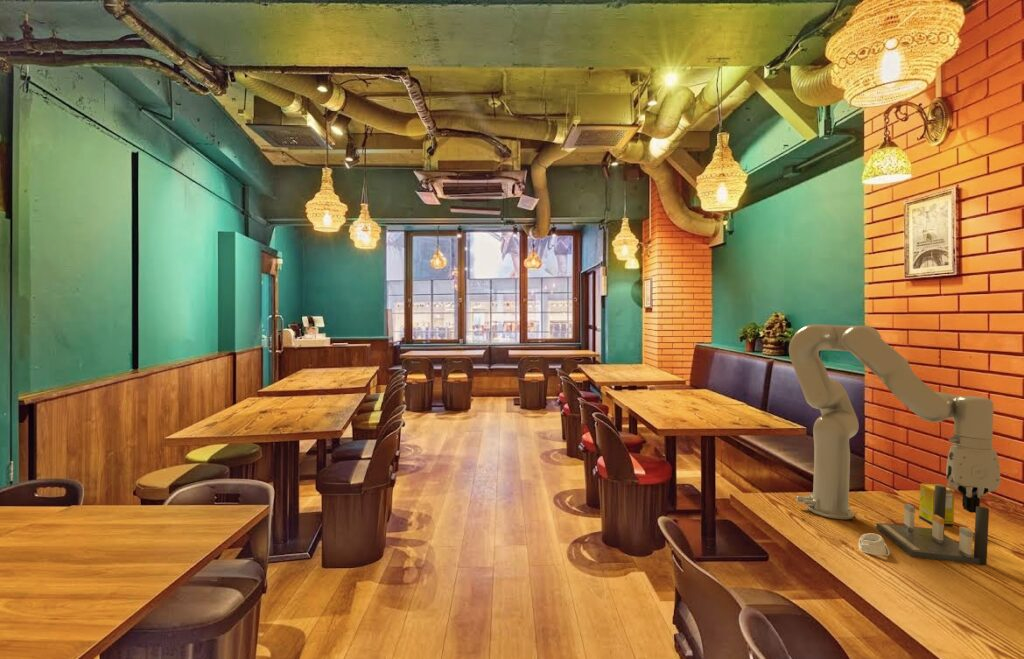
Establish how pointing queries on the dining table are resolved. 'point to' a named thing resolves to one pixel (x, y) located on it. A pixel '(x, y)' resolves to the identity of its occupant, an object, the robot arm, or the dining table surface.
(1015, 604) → the dining table surface
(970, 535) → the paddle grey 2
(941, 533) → the cream block orange end
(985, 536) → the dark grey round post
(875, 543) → the grey hollow teardrop piece
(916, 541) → the panel
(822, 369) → the robot arm
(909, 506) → the beige flat bar
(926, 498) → the supplement box
